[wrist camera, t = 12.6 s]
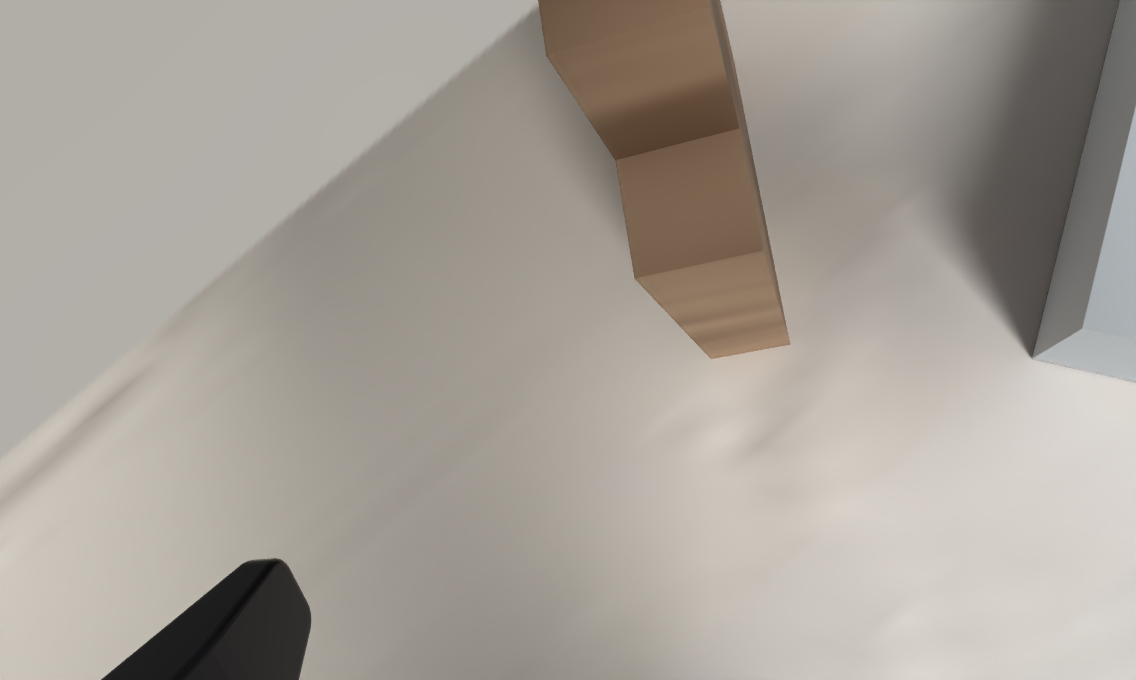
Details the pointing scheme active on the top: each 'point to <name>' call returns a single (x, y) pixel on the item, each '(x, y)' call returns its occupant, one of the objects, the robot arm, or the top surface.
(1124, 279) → the flat gray panel
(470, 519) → the top surface
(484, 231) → the top surface
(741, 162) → the angular brown block
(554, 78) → the top surface
